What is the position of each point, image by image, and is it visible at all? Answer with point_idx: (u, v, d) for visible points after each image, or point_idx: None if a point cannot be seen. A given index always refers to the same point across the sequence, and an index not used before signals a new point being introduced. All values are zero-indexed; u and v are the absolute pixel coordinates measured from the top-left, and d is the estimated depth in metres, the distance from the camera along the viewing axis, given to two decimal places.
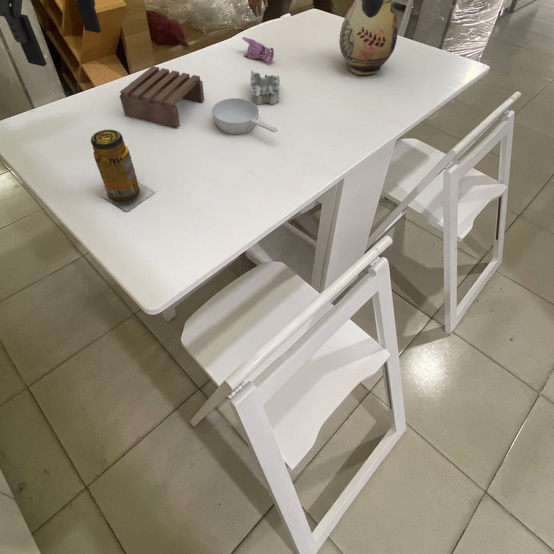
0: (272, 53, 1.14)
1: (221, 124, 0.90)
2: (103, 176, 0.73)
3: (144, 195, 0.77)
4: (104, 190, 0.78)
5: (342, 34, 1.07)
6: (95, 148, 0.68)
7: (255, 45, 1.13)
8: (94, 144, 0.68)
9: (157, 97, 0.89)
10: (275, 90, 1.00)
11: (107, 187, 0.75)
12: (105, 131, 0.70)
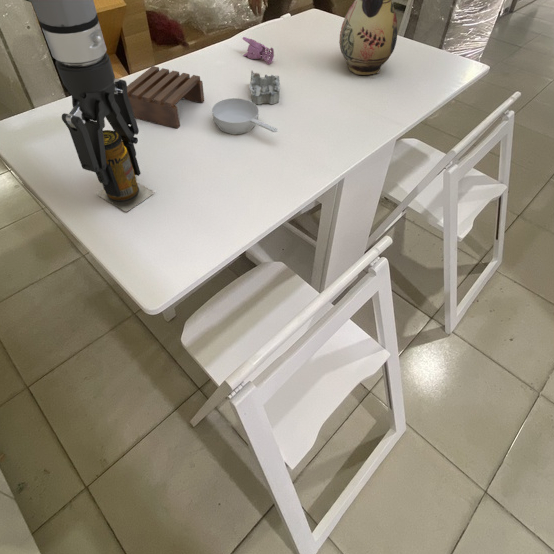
0: (272, 53, 1.14)
1: (221, 124, 0.90)
2: None
3: (143, 196, 0.77)
4: (103, 190, 0.78)
5: (342, 34, 1.07)
6: None
7: (255, 45, 1.13)
8: None
9: (157, 97, 0.89)
10: (275, 90, 1.00)
11: None
12: (104, 132, 0.70)
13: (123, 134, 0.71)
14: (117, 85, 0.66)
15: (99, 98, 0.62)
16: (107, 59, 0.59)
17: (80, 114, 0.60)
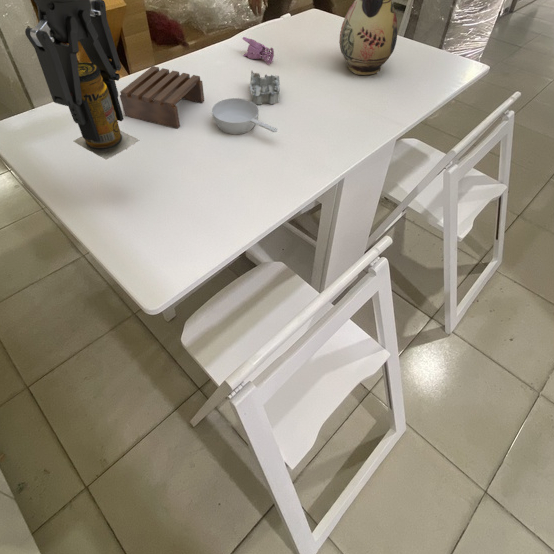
0: (272, 53, 1.14)
1: (221, 124, 0.90)
2: None
3: (126, 144, 0.68)
4: (82, 138, 0.69)
5: (342, 34, 1.07)
6: None
7: (255, 45, 1.13)
8: None
9: (157, 97, 0.89)
10: (275, 90, 1.00)
11: None
12: (80, 63, 0.61)
13: (102, 68, 0.62)
14: (94, 5, 0.57)
15: (71, 15, 0.53)
16: None
17: (48, 30, 0.51)
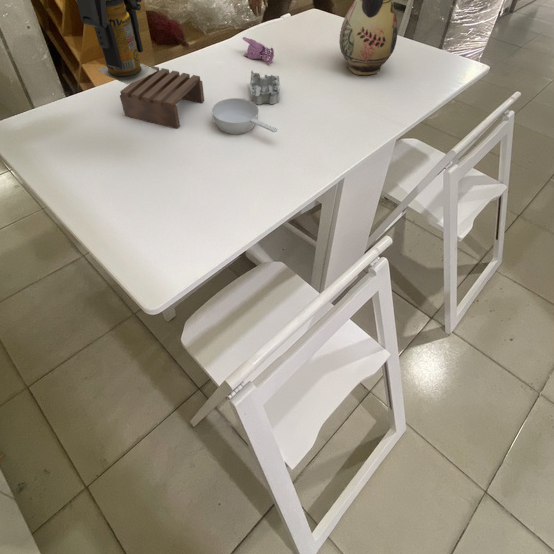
0: (272, 53, 1.14)
1: (221, 124, 0.90)
2: None
3: (145, 73, 0.74)
4: (104, 68, 0.75)
5: (342, 34, 1.07)
6: None
7: (255, 45, 1.13)
8: None
9: (157, 97, 0.89)
10: (275, 90, 1.00)
11: None
12: None
13: None
14: None
15: None
16: None
17: None
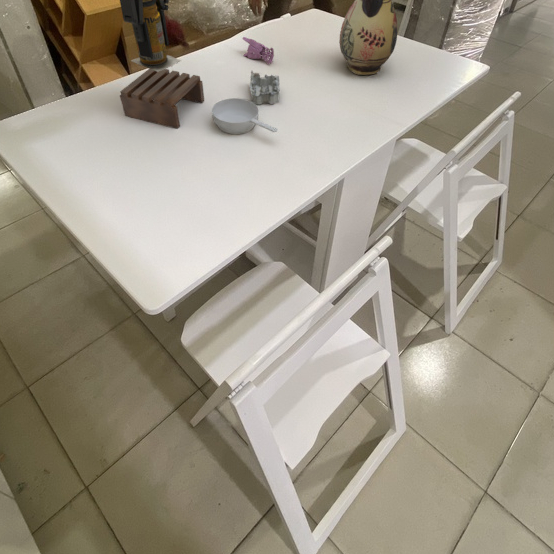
0: (272, 53, 1.14)
1: (221, 124, 0.90)
2: None
3: (171, 62, 0.89)
4: (137, 59, 0.89)
5: (342, 34, 1.07)
6: None
7: (255, 45, 1.13)
8: None
9: (157, 97, 0.89)
10: (275, 90, 1.00)
11: None
12: None
13: None
14: None
15: None
16: None
17: None
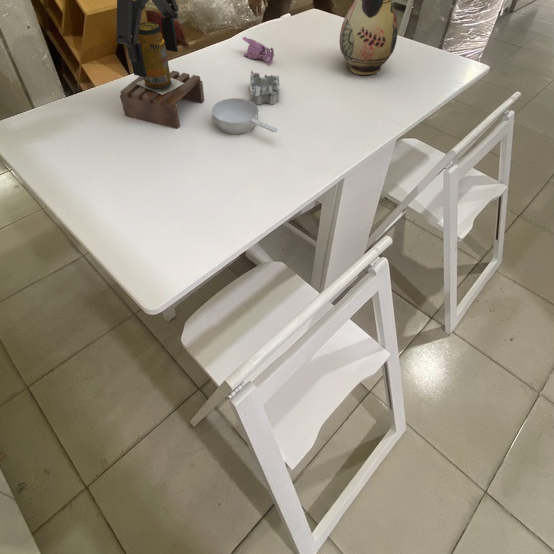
0: (272, 53, 1.14)
1: (221, 124, 0.90)
2: None
3: (175, 85, 0.93)
4: (142, 81, 0.93)
5: (342, 34, 1.07)
6: (139, 34, 0.84)
7: (255, 45, 1.13)
8: None
9: (157, 97, 0.89)
10: (275, 90, 1.00)
11: None
12: (146, 23, 0.85)
13: (166, 12, 0.87)
14: None
15: None
16: None
17: None
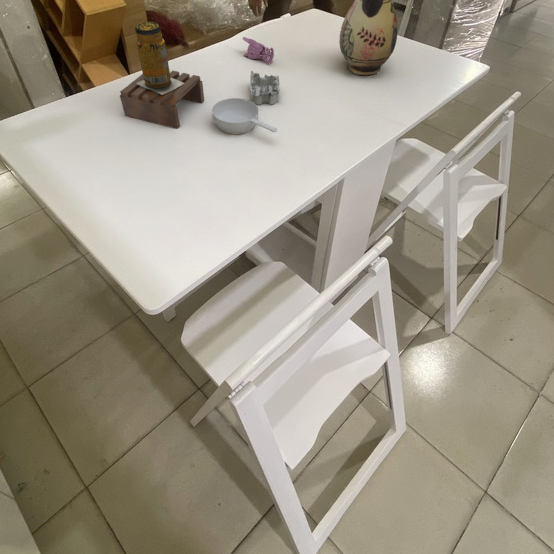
0: (272, 53, 1.14)
1: (221, 124, 0.90)
2: (143, 63, 0.88)
3: (175, 85, 0.93)
4: (142, 81, 0.93)
5: (342, 34, 1.07)
6: (139, 34, 0.84)
7: (255, 45, 1.13)
8: (138, 30, 0.83)
9: (157, 97, 0.89)
10: (275, 90, 1.00)
11: (146, 75, 0.90)
12: (146, 23, 0.85)
13: None
14: None
15: None
16: None
17: None
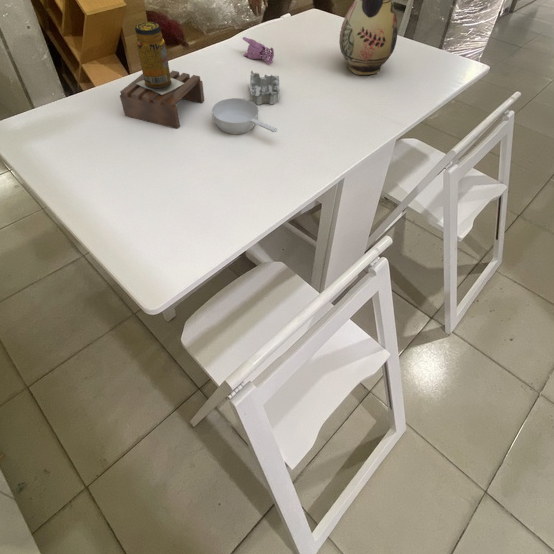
0: (272, 53, 1.14)
1: (221, 124, 0.90)
2: (143, 63, 0.88)
3: (175, 85, 0.93)
4: (142, 81, 0.93)
5: (342, 34, 1.07)
6: (139, 34, 0.84)
7: (255, 45, 1.13)
8: (138, 30, 0.83)
9: (157, 97, 0.89)
10: (275, 90, 1.00)
11: (146, 75, 0.90)
12: (146, 23, 0.85)
13: None
14: None
15: None
16: None
17: None
